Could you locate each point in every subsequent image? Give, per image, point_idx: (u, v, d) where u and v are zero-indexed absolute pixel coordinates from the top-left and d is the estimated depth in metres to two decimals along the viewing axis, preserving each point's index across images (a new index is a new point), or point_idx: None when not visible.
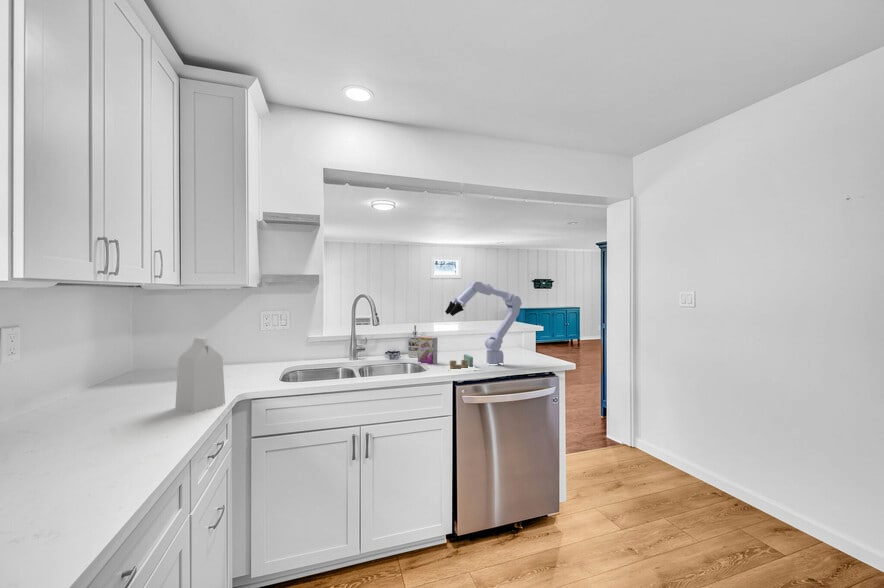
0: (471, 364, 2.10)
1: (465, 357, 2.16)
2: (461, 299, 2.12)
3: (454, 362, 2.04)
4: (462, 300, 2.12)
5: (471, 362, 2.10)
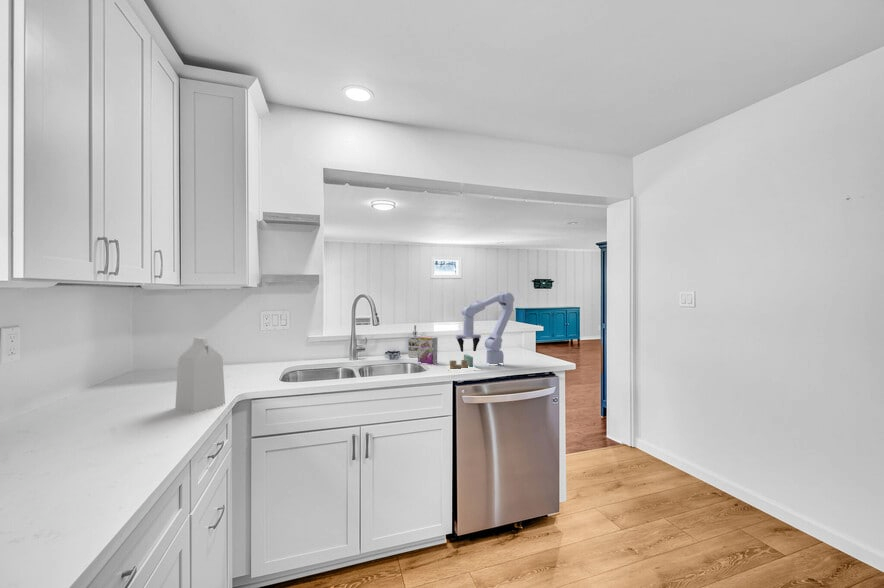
0: (471, 364, 2.10)
1: (465, 357, 2.16)
2: None
3: (454, 362, 2.04)
4: None
5: (471, 362, 2.10)
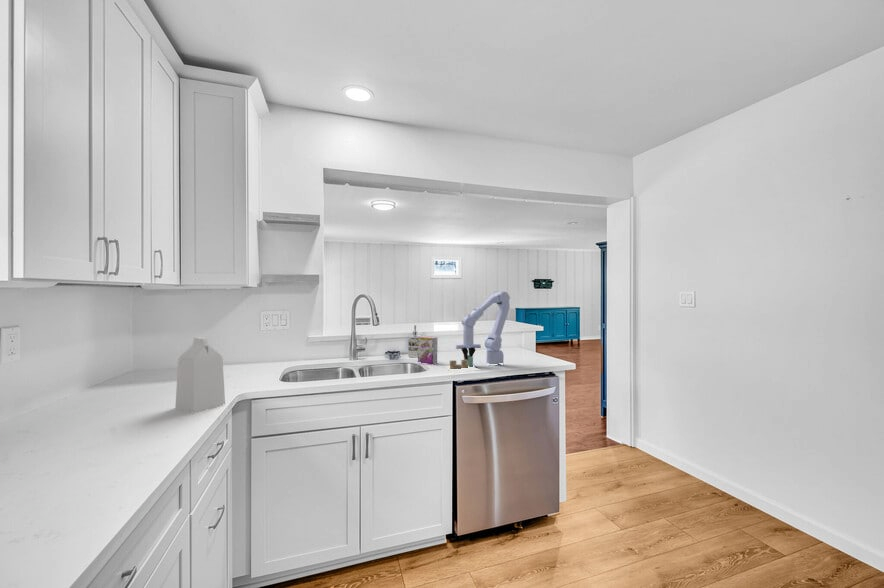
0: (471, 364, 2.10)
1: None
2: None
3: (454, 362, 2.04)
4: None
5: (471, 362, 2.10)
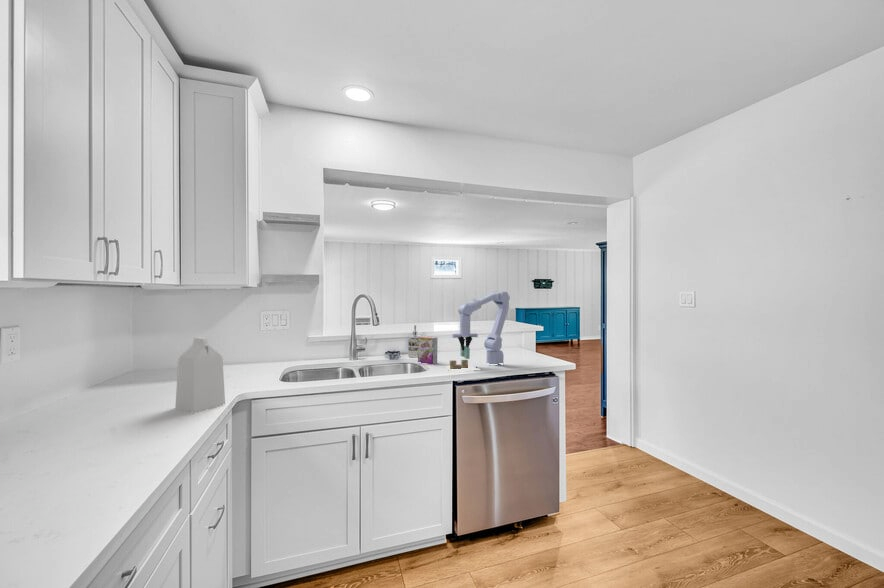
0: (468, 355, 2.07)
1: None
2: None
3: (454, 362, 2.04)
4: None
5: (468, 353, 2.07)
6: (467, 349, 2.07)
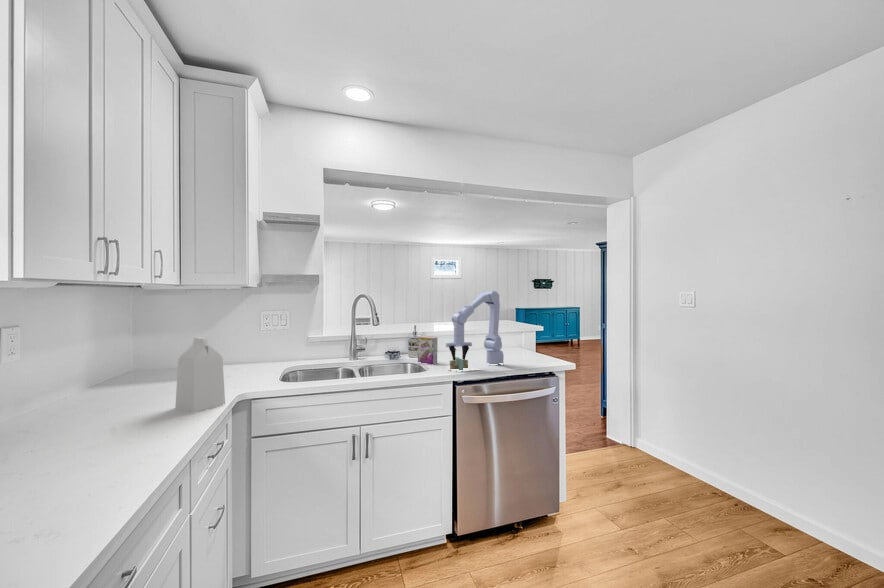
0: (461, 367, 2.01)
1: (456, 360, 2.08)
2: (463, 340, 2.05)
3: (454, 362, 2.04)
4: None
5: (461, 365, 2.01)
6: (461, 361, 2.01)
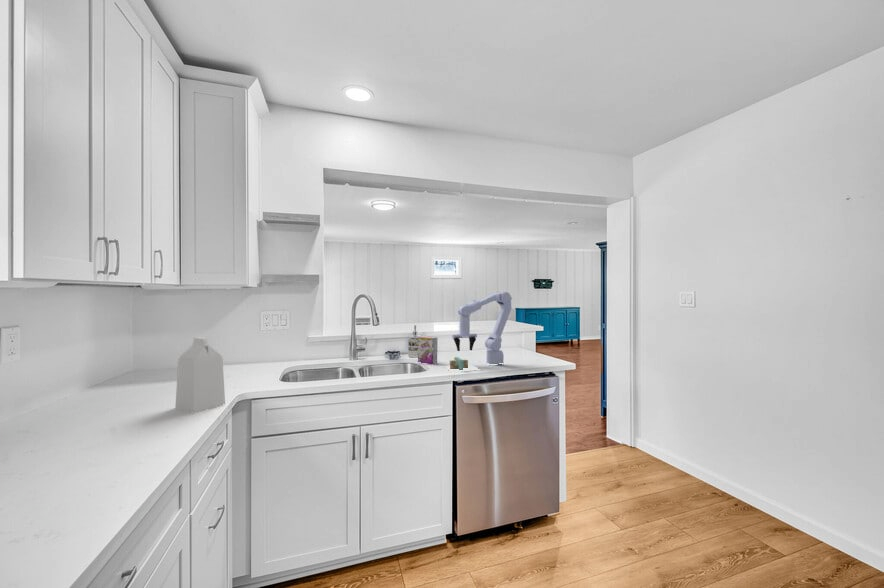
0: (461, 367, 2.01)
1: (456, 360, 2.08)
2: (469, 332, 2.14)
3: (454, 362, 2.04)
4: (469, 332, 2.15)
5: (461, 365, 2.01)
6: (461, 361, 2.01)
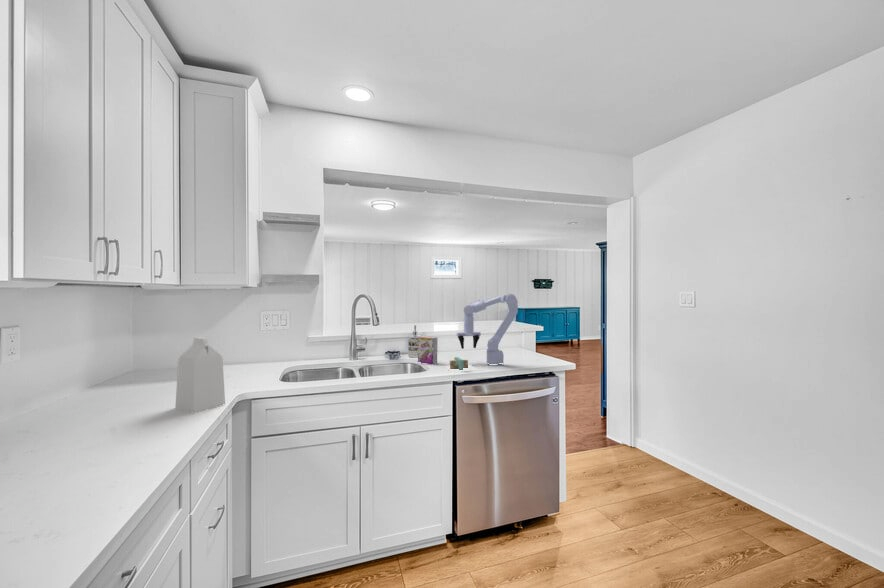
0: (461, 367, 2.01)
1: (456, 360, 2.08)
2: (473, 330, 2.22)
3: (454, 362, 2.04)
4: (473, 330, 2.22)
5: (461, 365, 2.01)
6: (461, 361, 2.01)
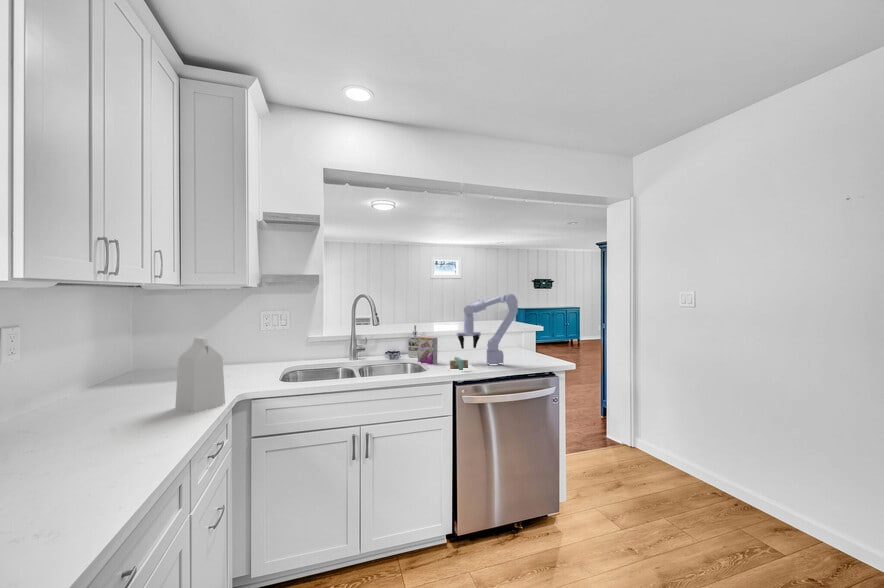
0: (461, 367, 2.01)
1: (456, 360, 2.08)
2: (473, 330, 2.22)
3: (454, 362, 2.04)
4: (473, 330, 2.22)
5: (461, 365, 2.01)
6: (461, 361, 2.01)
